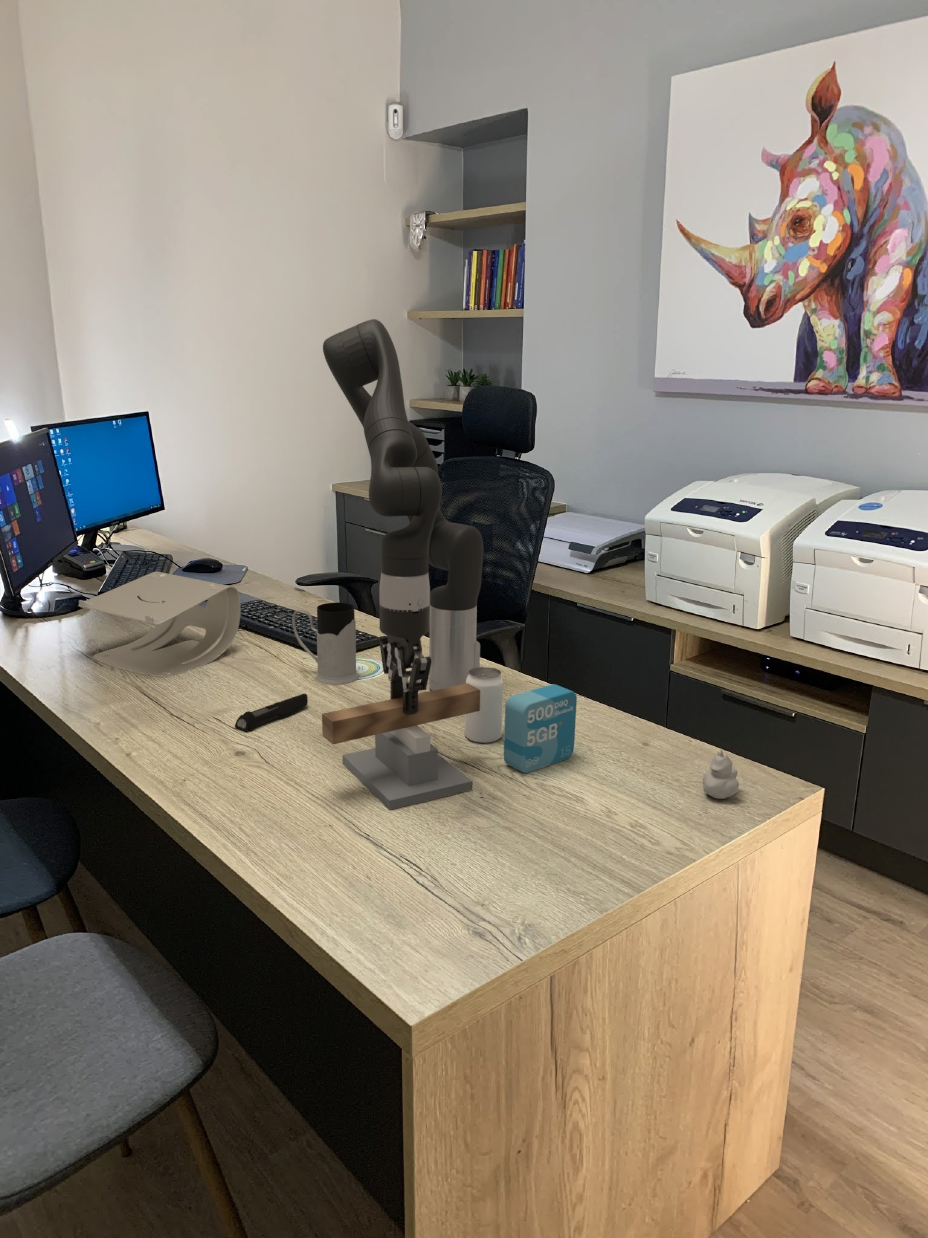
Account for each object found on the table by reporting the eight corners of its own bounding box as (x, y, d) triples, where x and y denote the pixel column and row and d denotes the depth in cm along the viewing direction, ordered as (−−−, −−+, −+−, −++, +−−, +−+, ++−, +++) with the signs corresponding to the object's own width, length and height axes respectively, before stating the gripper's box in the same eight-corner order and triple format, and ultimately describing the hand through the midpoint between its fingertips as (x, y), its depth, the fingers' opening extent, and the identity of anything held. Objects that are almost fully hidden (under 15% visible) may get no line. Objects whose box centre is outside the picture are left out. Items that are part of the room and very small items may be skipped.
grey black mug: (347, 687, 184) (345, 614, 180) (284, 678, 188) (281, 607, 184) (365, 673, 192) (364, 604, 188) (304, 665, 196) (302, 597, 192)
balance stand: (419, 747, 156) (419, 697, 154) (472, 790, 141) (473, 735, 139) (342, 763, 150) (341, 711, 147) (389, 810, 135) (389, 753, 132)
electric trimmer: (313, 711, 173) (312, 695, 172) (247, 734, 161) (246, 717, 160) (299, 706, 175) (299, 690, 174) (233, 729, 163) (232, 712, 162)
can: (506, 732, 163) (508, 668, 160) (495, 746, 157) (497, 680, 154) (471, 727, 165) (472, 664, 162) (459, 740, 159) (460, 675, 156)
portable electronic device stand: (246, 651, 204) (242, 584, 200) (161, 681, 185) (155, 607, 181) (167, 632, 217) (162, 568, 213) (80, 658, 198) (73, 588, 194)
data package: (521, 776, 146) (523, 705, 143) (502, 766, 150) (504, 697, 147) (574, 757, 154) (578, 689, 150) (555, 748, 157) (558, 682, 154)
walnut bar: (332, 744, 135) (332, 721, 134) (322, 736, 138) (321, 713, 137) (479, 711, 149) (480, 690, 148) (467, 703, 151) (467, 683, 150)
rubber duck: (692, 794, 141) (697, 746, 139) (718, 783, 145) (723, 736, 143) (722, 808, 137) (727, 758, 135) (747, 795, 141) (753, 747, 139)
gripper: (362, 593, 142) (363, 697, 146) (402, 616, 130) (402, 728, 135) (406, 588, 145) (405, 690, 150) (449, 610, 133) (447, 720, 138)
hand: (404, 708), depth 142 cm, fingers open, 4 cm apart
